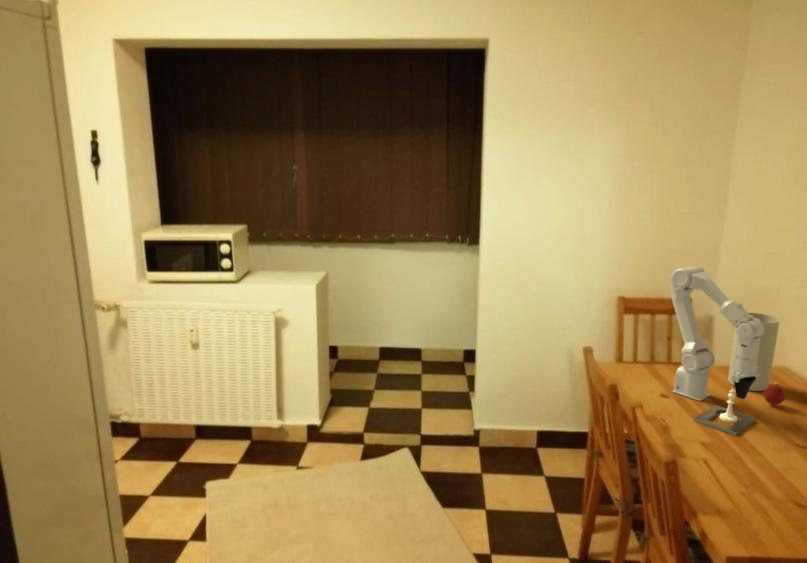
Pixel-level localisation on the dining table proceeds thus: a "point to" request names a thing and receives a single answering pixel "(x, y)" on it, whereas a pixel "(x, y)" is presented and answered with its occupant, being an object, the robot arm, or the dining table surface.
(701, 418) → the keyhole plate
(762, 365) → the cylinder vase
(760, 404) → the dining table surface
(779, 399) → the onion
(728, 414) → the chess piece
